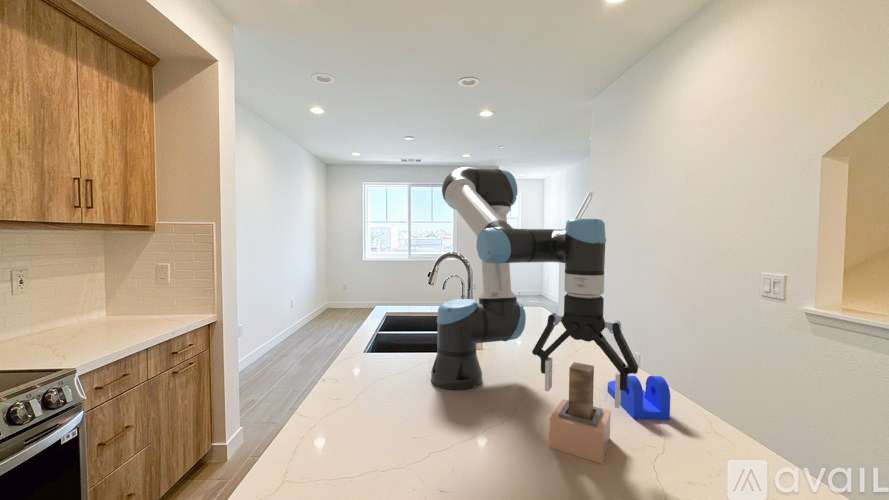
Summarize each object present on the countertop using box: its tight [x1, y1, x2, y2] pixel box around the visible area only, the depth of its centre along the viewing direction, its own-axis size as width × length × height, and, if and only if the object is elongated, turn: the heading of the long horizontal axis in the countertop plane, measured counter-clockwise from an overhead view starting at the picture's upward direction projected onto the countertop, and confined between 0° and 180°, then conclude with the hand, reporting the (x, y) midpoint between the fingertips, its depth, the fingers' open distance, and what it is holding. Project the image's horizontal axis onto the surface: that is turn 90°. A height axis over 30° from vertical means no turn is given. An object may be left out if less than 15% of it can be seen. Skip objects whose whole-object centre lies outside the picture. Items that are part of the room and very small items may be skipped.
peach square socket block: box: [548, 398, 612, 465], centre depth 74 cm, size 10×10×7 cm
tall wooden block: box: [568, 361, 595, 420], centre depth 73 cm, size 4×4×14 cm
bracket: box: [606, 374, 671, 421], centre depth 92 cm, size 18×8×9 cm, turn 178°
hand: (581, 396), depth 74 cm, fingers open, 13 cm apart
